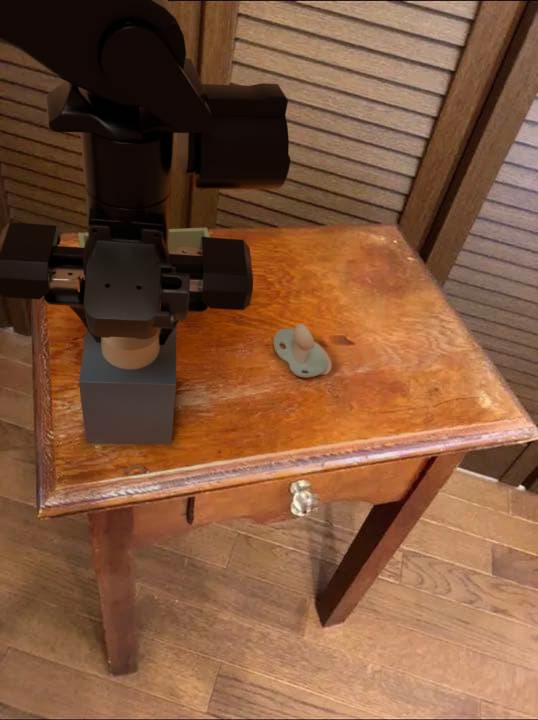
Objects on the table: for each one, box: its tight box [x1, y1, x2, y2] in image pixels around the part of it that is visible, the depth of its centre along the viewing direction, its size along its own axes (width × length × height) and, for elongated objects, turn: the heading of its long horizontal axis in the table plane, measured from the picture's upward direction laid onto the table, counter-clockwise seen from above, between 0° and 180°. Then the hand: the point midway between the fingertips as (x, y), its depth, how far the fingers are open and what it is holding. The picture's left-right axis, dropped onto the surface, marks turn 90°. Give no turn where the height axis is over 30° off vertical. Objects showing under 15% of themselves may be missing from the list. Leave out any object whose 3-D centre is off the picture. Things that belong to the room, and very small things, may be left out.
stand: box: [78, 324, 178, 446], centre depth 56 cm, size 8×8×10 cm
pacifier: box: [273, 322, 333, 378], centre depth 66 cm, size 7×6×6 cm
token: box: [101, 328, 160, 369], centre depth 51 cm, size 5×5×2 cm
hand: (130, 340), depth 51 cm, fingers closed on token, 5 cm apart
